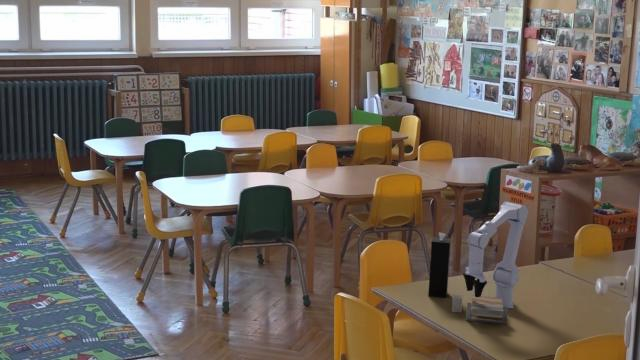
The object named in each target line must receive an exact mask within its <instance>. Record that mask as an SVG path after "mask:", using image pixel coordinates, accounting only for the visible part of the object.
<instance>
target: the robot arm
mask: <svg viewBox="0 0 640 360" xmlns="http://www.w3.org/2000/svg"><path fill="white" fill-rule="evenodd" d="M528 215H529V210H528V208H527V206H526V205H523V204H518V203H514V202H510V201H504V202H503V203H502V204H501V205H500V207H499V211H498V213H497V214H496V215H495V216H494V217H493V218H492V219H491V220H489V221H485V222H484V223H483V224H482V225H481V226H480V227H479V228H478V229H477V230H476V231H473V232H470V233H469V234H468V237H467V239H466V241H467V245H468V250H469V254H468V255H469V256H468V266H465V268H464V269H465V272H463V273H462V275H463V278H464V282H465V288H466V290H467V292H471V291H473V290H474V296H475V297H481V296H482V293H483V292H484V288H485V286H486V285H487V284H488V281H487V280H486V277H485V275H484V272H483V270H484V269H483V268H484V255H485V248H486V247H488V244H489V242H490V239H491V238H492V237H493V236H494V235H495V234H496V233H497V232H498V229H497V228H498V227H499V226H501V225H502V224H503V223H505V222H506V221H507V222H508V223H509V224H510V227H509V231H508V235H507V240H506V244H505V248H504V253H503V257H502V261H500V262H498V263H496V266H495V268H494V270H493V272H492V279H493V281H494V284H495V285H496V286H495V297H496V298H502V306H503V309H504V306H508V309H514V287H516V286H517V284H518V283H519V279H520V269H519V268H518V266H517V264H516V260H517V256H518V251H519V248H520V247H519V246H520V244H521V243H520V242H521V239H522V235H523V230H524V226H525V225H526V224H527V223H526V222H527V219H528Z"/></svg>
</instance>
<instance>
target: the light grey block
mask: <svg viewBox="0 0 640 360" xmlns="http://www.w3.org/2000/svg"><path fill="white" fill-rule="evenodd" d="M462 306H463V295H460V294H452V300H451V312H452V313H453V312H454V313H462V309H463V308H462Z"/></svg>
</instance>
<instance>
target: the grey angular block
mask: <svg viewBox="0 0 640 360" xmlns="http://www.w3.org/2000/svg"><path fill="white" fill-rule="evenodd" d="M465 310H466V311H465V312H466V314H465V320H466V321H467V322H468V321H469V322H478V323H488V324H489V323H491V324H501V325H507V324H508V310H509V308H508V306H504V308H503V317H501V319H492V318H481V317H480V318H479V317H471V315H472V302H467V303H466V309H465Z"/></svg>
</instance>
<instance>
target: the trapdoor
mask: <svg viewBox="0 0 640 360" xmlns="http://www.w3.org/2000/svg"><path fill="white" fill-rule="evenodd" d="M503 309H504V308H503V306H502V298H496V297H493V296H486V295H485V296H483V295H481V297H475V294H474V295H472V297H471V315H479V316H490V317H501V318H502V317H503Z"/></svg>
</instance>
